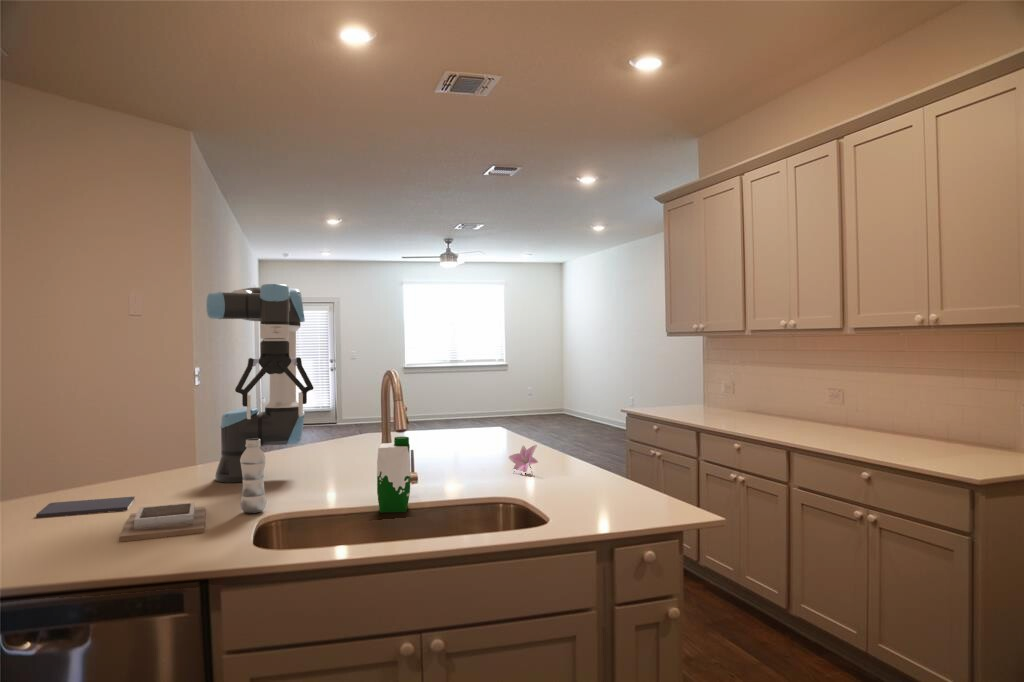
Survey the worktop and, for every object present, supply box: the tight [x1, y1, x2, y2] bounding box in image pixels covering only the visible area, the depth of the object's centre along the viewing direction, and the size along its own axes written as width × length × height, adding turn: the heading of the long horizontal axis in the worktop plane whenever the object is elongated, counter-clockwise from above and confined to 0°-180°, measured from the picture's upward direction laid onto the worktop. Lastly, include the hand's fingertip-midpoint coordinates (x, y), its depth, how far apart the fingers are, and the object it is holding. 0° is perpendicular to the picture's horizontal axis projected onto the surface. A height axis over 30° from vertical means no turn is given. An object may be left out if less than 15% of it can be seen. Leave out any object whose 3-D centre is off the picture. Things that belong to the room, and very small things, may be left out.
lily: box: [508, 444, 539, 473], centre depth 236 cm, size 12×12×10 cm
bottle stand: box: [119, 501, 207, 543], centre depth 170 cm, size 22×18×4 cm
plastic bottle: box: [240, 438, 267, 514], centre depth 182 cm, size 6×7×20 cm
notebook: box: [35, 496, 136, 519], centre depth 187 cm, size 13×2×21 cm
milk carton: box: [376, 436, 411, 514], centre depth 186 cm, size 9×9×20 cm
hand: (275, 417), depth 184 cm, fingers open, 13 cm apart
